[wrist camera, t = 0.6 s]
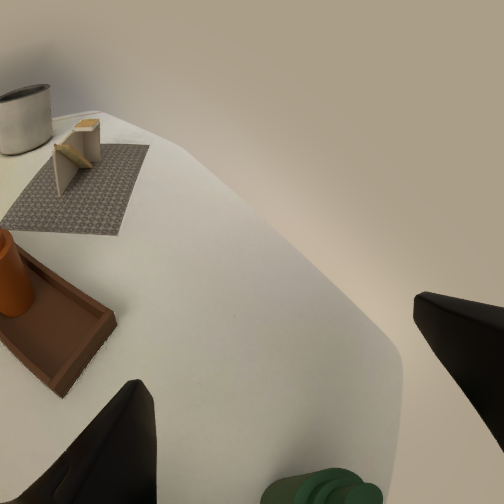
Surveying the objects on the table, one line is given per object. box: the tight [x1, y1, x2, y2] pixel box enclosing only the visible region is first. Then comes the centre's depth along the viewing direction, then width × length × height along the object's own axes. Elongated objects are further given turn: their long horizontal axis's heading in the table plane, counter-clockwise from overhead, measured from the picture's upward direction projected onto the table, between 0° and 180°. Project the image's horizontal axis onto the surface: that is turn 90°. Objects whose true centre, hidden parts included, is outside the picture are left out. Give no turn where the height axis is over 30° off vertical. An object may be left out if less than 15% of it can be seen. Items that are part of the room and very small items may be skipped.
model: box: [52, 119, 102, 197], centre depth 34 cm, size 3×11×8 cm, turn 8°
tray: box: [0, 243, 117, 399], centre depth 20 cm, size 20×8×2 cm, turn 70°
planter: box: [0, 84, 52, 155], centre depth 38 cm, size 12×12×11 cm
